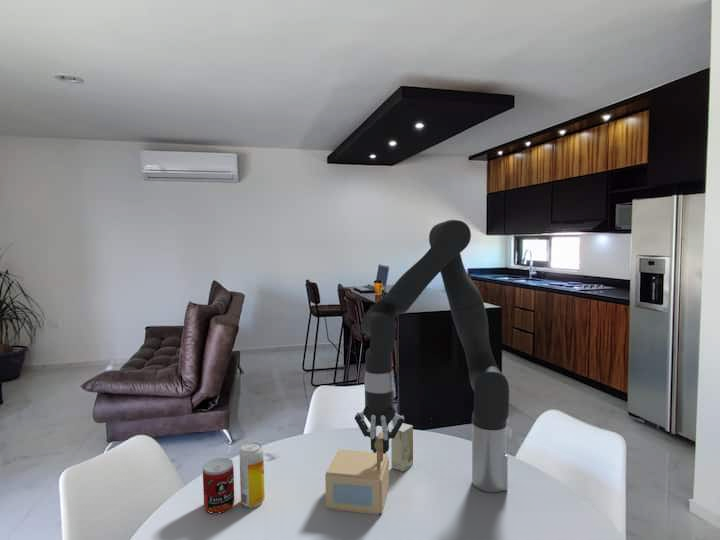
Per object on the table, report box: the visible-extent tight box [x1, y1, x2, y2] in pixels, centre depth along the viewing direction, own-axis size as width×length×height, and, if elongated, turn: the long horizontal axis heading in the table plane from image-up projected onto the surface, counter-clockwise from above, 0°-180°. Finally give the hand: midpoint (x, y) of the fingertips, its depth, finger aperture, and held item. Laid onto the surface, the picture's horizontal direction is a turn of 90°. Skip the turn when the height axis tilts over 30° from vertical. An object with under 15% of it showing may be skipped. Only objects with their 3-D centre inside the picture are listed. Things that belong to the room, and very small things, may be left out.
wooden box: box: [324, 455, 390, 516], centre depth 117 cm, size 15×13×9 cm
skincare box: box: [390, 422, 414, 472], centre depth 133 cm, size 6×4×12 cm
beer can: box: [239, 442, 265, 509], centre depth 115 cm, size 6×6×15 cm
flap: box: [325, 432, 388, 479], centre depth 116 cm, size 14×13×8 cm
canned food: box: [202, 457, 235, 513], centre depth 114 cm, size 8×8×11 cm
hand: (379, 451), depth 115 cm, fingers closed on flap, 2 cm apart
